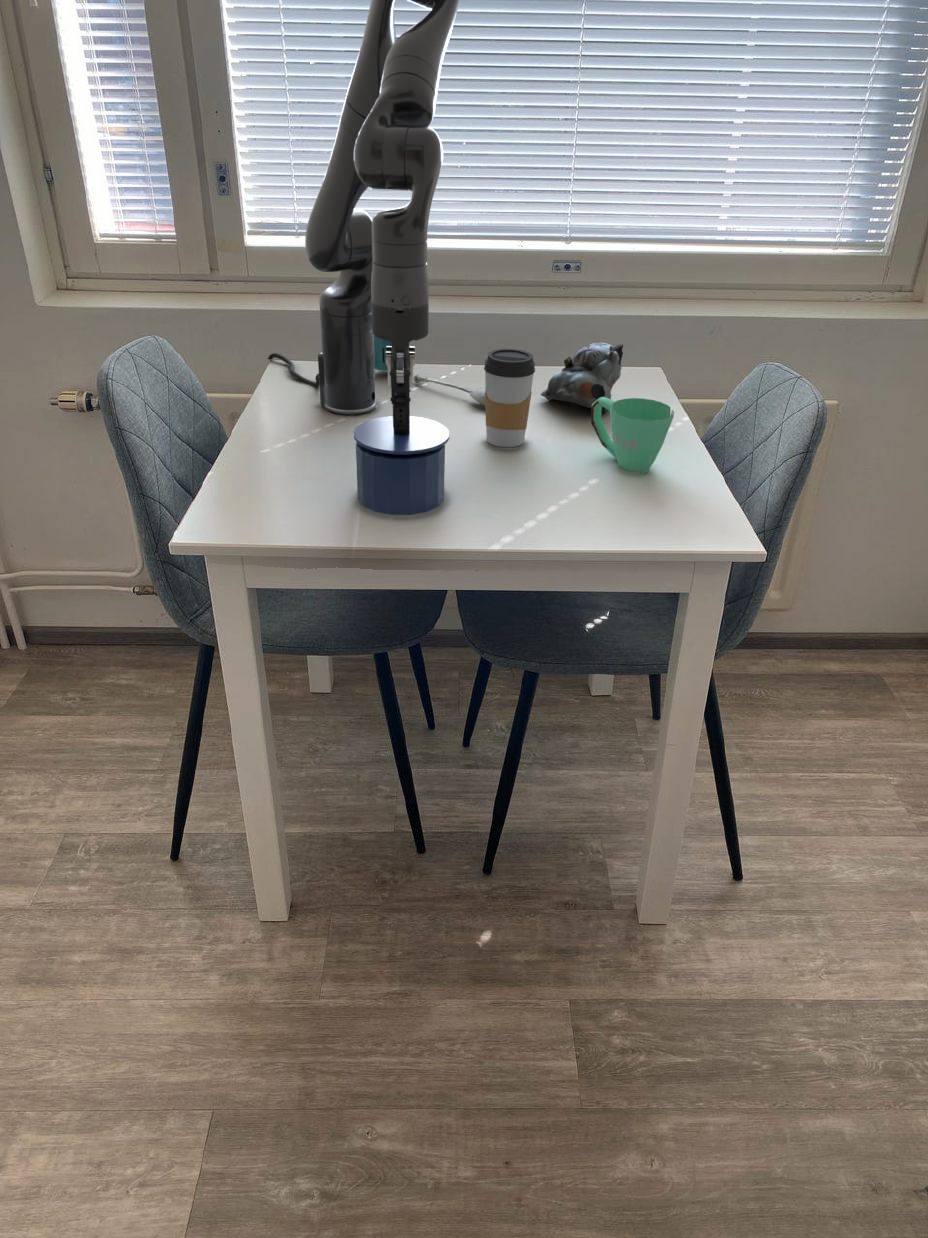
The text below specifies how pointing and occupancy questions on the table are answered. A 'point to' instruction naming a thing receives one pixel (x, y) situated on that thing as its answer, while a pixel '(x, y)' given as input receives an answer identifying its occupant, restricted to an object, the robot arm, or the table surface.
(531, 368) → the coffee cup
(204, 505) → the table surface
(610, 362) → the lucky cat figurine
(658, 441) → the mug
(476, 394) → the soupspoon
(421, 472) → the tin
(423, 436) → the tin lid
